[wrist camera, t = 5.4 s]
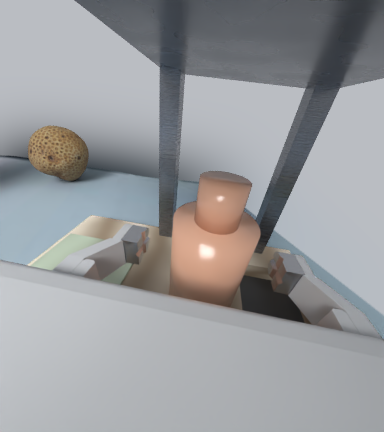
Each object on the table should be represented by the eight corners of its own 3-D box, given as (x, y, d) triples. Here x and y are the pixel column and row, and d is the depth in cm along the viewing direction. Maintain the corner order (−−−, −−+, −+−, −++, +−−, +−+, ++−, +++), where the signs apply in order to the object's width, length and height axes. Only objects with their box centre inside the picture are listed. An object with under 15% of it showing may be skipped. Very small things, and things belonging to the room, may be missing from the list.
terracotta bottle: (160, 321, 12) (162, 190, 6) (176, 266, 16) (185, 160, 11) (231, 336, 11) (296, 212, 6) (228, 276, 16) (264, 172, 10)
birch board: (-97, 398, 9) (-136, 386, 8) (94, 227, 22) (91, 213, 21) (397, 534, 7) (443, 546, 6) (282, 262, 21) (289, 249, 20)
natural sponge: (59, 194, 29) (37, 130, 23) (28, 182, 31) (2, 122, 26) (103, 180, 36) (93, 128, 31) (74, 170, 39) (61, 122, 33)
